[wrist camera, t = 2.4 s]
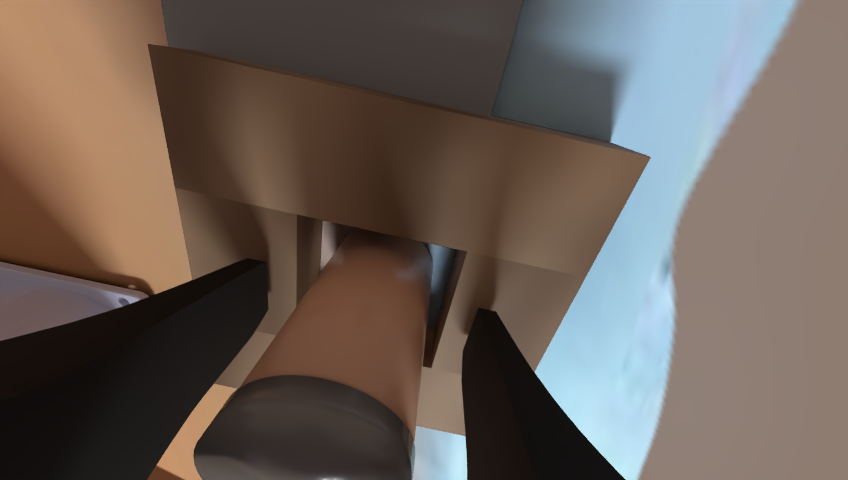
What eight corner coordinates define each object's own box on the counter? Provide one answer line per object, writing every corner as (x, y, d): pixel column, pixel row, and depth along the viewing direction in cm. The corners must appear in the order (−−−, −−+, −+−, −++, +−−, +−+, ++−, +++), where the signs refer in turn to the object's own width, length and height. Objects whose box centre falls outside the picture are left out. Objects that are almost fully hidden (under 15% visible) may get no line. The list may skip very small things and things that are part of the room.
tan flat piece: (242, 345, 16) (211, 382, 14) (210, 52, 10) (147, 44, 8) (490, 397, 16) (495, 442, 14) (611, 142, 10) (650, 156, 8)
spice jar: (333, 295, 14) (208, 514, 7) (339, 211, 12) (175, 395, 5) (423, 314, 14) (392, 551, 7) (443, 234, 12) (430, 448, 5)
